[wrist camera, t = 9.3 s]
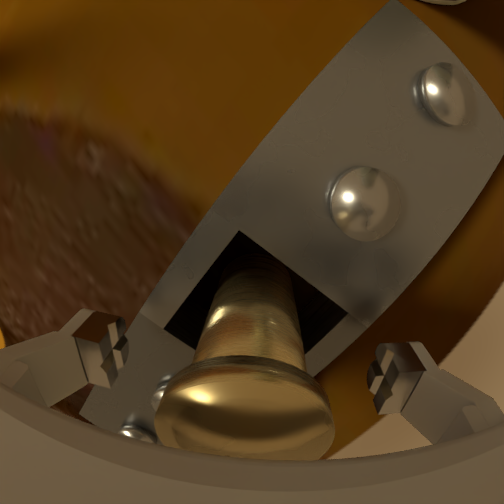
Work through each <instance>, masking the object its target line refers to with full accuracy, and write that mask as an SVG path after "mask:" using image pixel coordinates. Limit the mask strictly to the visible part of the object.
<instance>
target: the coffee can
mask: <svg viewBox="0 0 504 504" xmlns="http://www.w3.org/2000/svg"><path fill="white" fill-rule="evenodd" d="M421 1H425V2H429V3H433V4H440V5H456V4H459V3H462V2H464V1H466V0H421Z"/></svg>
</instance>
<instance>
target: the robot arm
mask: <svg viewBox="0 0 504 504" xmlns="http://www.w3.org/2000/svg"><path fill="white" fill-rule="evenodd" d="M125 330H126V324H125V320H124V319H123V318H122V317H120V316H115V315H111V314H107V313H102V312H98V311H94V310H89V309H81V310H80V311H79V312H78V313H77V314H76V315H75V316H74V317H73V318H72V319H71V320H70V321H69V322H68V323H67V324H66V325H65V326H64V327H63V328H62V329H61V330H60V331H59V332H55V331H54V332H51V333H48V334H45V335H42V336H39V337H36V338H33V339H30V340H27V341H24V342H21V343H18V344H15V345H12V346H9V347H6V348H3V349H0V504H504V414H503V413H502V411H501V410H500V408H499V407H498V405H497V404H496V402H495V401H494V399H493V398H492V397H490V396H488V395H486V394H485V393H483V392H481V391H479V390H478V389H476V388H474V387H473V386H471V385H469V384H467V383H466V382H464V381H462V380H461V379H459V378H457V377H455V376H454V375H452V374H450V373H449V372H447V371H445V370H440V369H439V368H438V366H437V365H436V363H435V362H434V360H433V359H432V357H431V356H430V354H429V353H428V351H427V350H426V348H425V347H424V345H423V344H422V343H421V342H419V341H417V342H406V343H380V344H379V345H378V346H377V349H376V351H375V355H376V358H377V359H375V360H374V361H373V362H372V363H371V364H370V367H369V369H368V373H367V385H368V388H369V391H371V392H372V393H373V394H375V397H374V399H373V402H374V405H375V407H376V410H377V413H378V414H392V413H401V415H402V416H403V417H404V418H405V419H406V420H407V421H408V422H410V423H411V424H412V425H413V426H414V427H415V428H416V429H417V430H418V431H419V432H420V433H421V434H422V435H424V436H425V437H426V438H427V439H428V440H429V441H430V442H431V443H432V444H433V445H429V446H425V447H420V448H415V449H411V450H405V451H400V452H394V453H388V454H382V455H374V456H366V457H357V458H345V459H333V460H332V459H331V460H264V459H249V458H238V457H228V456H220V455H213V454H206V453H199V452H193V451H188V450H182V449H177V448H172V447H168V446H163V445H159V444H154V443H150V442H146V441H142V440H139V439H135V438H131V437H128V436H124V435H121V434H118V433H115V432H111V431H108V430H105V429H102V428H99V427H97V426H94V425H91V424H88V423H85V422H83V421H80V420H78V419H75V418H73V417H70V416H68V415H65V414H63V413H61V412H58V411H56V410H54V409H51V408H49V407H50V406H52V405H54V404H55V403H57V402H59V401H60V400H62V399H64V398H65V397H67V396H69V395H70V394H72V393H73V392H75V391H77V390H78V389H80V388H82V387H83V386H85V385H87V384H88V382H89V383H92V384H96V385H99V386H103V387H107V388H111V387H112V385H113V384H114V382H115V380H116V379H117V377H118V371H117V369H119V368H121V367H123V366H124V365H125V363H126V361H127V358H128V354H129V343H128V339H127V338H126V337H125V335H124V334H123V333H124V331H125Z"/></svg>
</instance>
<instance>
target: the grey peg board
mask: <svg viewBox="0 0 504 504" xmlns="http://www.w3.org/2000/svg"><path fill="white" fill-rule="evenodd" d="M503 155H504V119H503V118H502V116H501V115H500V113H499V112H498V110H497V109H496V107H495V106H494V104H493V103H492V101H491V100H490V98H489V97H488V96H487V94H486V93H485V92H484V90H483V89H482V87H481V86H480V85H479V84H478V82H477V81H476V80H475V78H474V77H473V76H472V75H471V73H470V72H469V71H468V70H467V68H466V67H465V66H464V65H463V64H462V63H461V61H460V60H459V59H458V58H457V57H456V56H455V55H454V53H453V52H452V51H451V50H450V49H449V48H448V47H447V46H446V45H445V44H444V43H443V42H442V41H441V40H440V39H439V37H438V36H437V35H436V34H435V33H434V32H432V31H431V30H430V29H429V28H428V27H427V26H426V25H425V24H424V23H423V22H422V21H421V20H420V19H419V18H418V17H416V16H415V15H414V14H413V13H412V12H411V11H410V10H408V9H407V8H406V7H405V6H404V5H403V4H401V3H400V2H399V1H398V0H390V1H389V2H388V3H387V4H386V5H385V6H384V7H383V8H381V9H380V10H379V11H378V12H377V13H376V14H375V15H374V16H373V17H372V18H371V19H370V20H369V21H368V22H367V23H366V24H365V25H364V26H363V27H362V29H361V30H360V31H359V32H358V33H357V34H356V35H355V36H354V37H353V38H352V39H351V40H350V41H349V42H348V43H347V44H346V45H345V46H344V47H343V48H342V49H341V51H340V52H339V53H338V54H337V55H336V56H335V57H334V58H333V59H332V60H331V61H330V62H329V64H328V65H327V66H326V67H325V68H324V69H323V70H322V71H321V72H320V74H319V75H318V76H317V77H316V78H315V79H314V80H313V81H312V83H311V84H310V85H309V86H308V87H307V88H306V89H305V91H304V92H303V93H302V94H301V95H300V96H299V97H298V99H297V100H296V101H295V102H294V103H293V104H292V106H291V107H290V108H289V109H288V110H287V112H286V113H285V114H284V115H283V116H282V118H281V119H280V120H279V121H278V122H277V124H276V125H275V126H274V127H273V128H272V130H271V131H270V132H269V133H268V135H267V136H266V137H265V138H264V139H263V141H262V142H261V143H260V144H259V146H258V147H257V148H256V149H255V151H254V152H253V153H252V155H251V156H250V157H249V158H248V160H247V161H246V162H245V163H244V165H243V166H242V167H241V169H240V170H239V171H238V172H237V174H236V175H235V176H234V178H233V179H232V180H231V182H230V183H229V184H228V185H227V187H226V188H225V189H224V191H223V192H222V193H221V195H220V196H219V197H218V199H217V200H216V201H215V203H214V204H213V206H212V207H211V208H210V210H209V211H208V212H207V214H206V215H205V216H204V218H203V219H202V221H201V222H200V223H199V225H198V226H197V227H196V229H195V230H194V232H193V233H192V234H191V236H190V237H189V239H188V240H187V242H186V243H185V244H184V246H183V247H182V249H181V250H180V252H179V253H178V254H177V256H176V257H175V259H174V260H173V262H172V263H171V265H170V266H169V268H168V269H167V270H166V272H165V273H164V275H163V276H162V278H161V279H160V281H159V282H158V284H157V285H156V287H155V288H154V290H153V291H152V293H151V294H150V296H149V298H148V299H147V301H146V302H145V304H144V305H143V307H142V308H141V310H140V311H139V313H138V315H137V316H136V318H135V319H134V321H133V322H132V324H131V326H130V327H129V329H128V330H127V332H126V334H125V337H126V338H127V339H128V343H129V354H128V358H127V361H126V363H125V365H124V366H123V367H121V368H119V369H117V371H118V377H117V379H116V380H115V382H114V384H113V385H112V387H111V388H107V387H103V386H99V385H96V384H95V386H94V388H93V389H92V391H91V393H90V395H89V396H88V398H87V400H86V402H85V404H84V405H83V407H82V409H81V411H80V413H79V414H80V415H81V416H83V417H84V418H86V419H87V420H88V421H90V422H91V423H93V424H95V425H96V426H98V427H99V428H102V429H105V430H108V431H111V432H115V433H118V434H121V435H124V436H128V437H131V438H135V439H139V440H142V441H146V442H150V443H154V444H159V445H163V446H164V444H163V443H162V442H161V440H160V439H159V437H158V435H157V433H156V430H155V426H154V418H155V414H156V411H157V408H158V406H159V403H160V401H161V398H162V395H163V393H164V390H165V388H166V386H167V384H168V382H169V381H170V379H171V378H172V377H173V376H174V375H175V374H176V373H177V372H178V371H180V370H182V369H183V368H185V367H186V366H188V365H191V364H192V360H193V357H194V354H195V351H196V348H197V345H198V342H199V339H200V336H201V334H202V331H203V328H204V325H205V322H206V319H207V316H208V313H209V311H207V310H206V309H204V308H203V307H202V306H200V305H199V304H197V303H196V302H194V301H193V300H192V299H190V298H189V297H188V295H189V294H190V293H191V291H192V290H193V289H194V287H195V286H196V285H197V283H198V282H199V281H200V280H201V278H202V277H203V276H204V274H205V273H206V272H207V270H208V269H209V268H210V267H211V265H212V264H213V263H214V261H215V260H216V259H217V258H218V256H219V255H220V254H221V252H222V251H223V250H224V249H225V247H226V246H227V245H228V243H229V242H230V241H231V240H232V238H233V237H234V236H235V235H236V233H237V232H238V231H239V230H240V231H241V232H243V233H244V234H245V235H247V236H248V237H249V238H251V239H252V240H253V241H255V242H256V243H257V244H259V245H260V246H261V247H262V248H264V249H265V250H266V251H268V252H269V253H270V254H272V255H273V256H274V257H276V258H277V259H278V260H280V261H281V262H282V263H284V264H285V265H286V266H288V267H289V268H290V269H292V270H293V271H294V272H296V273H297V274H298V275H299V276H301V277H302V278H303V279H305V280H306V281H307V282H309V283H310V284H311V285H313V286H314V287H315V288H317V289H318V290H319V291H320V292H319V293H318V294H317V296H316V297H315V298H314V299H313V300H312V301H311V302H310V303H309V304H308V305H307V306H306V307H305V308H304V309H303V310H302V311H301V312H300V313H299V314H298V320H299V325H300V331H301V337H302V343H303V349H304V355H305V361H306V367H307V373H308V374H310V375H311V376H312V377H314V376H315V375H316V374H318V373H319V372H320V371H321V370H322V369H323V368H325V367H326V366H327V365H328V364H329V363H330V362H332V361H333V360H334V359H335V358H336V357H337V356H338V355H339V354H341V353H342V352H343V351H344V350H345V349H346V348H347V347H348V346H349V345H350V344H352V343H353V342H354V341H355V340H356V339H357V338H358V337H359V336H360V335H361V334H362V333H363V332H364V331H365V330H366V329H367V328H368V327H369V326H370V325H371V324H372V323H373V322H374V321H375V320H376V319H377V318H378V317H379V316H380V315H381V314H382V313H383V312H384V311H385V310H386V309H387V308H388V307H389V306H390V305H391V304H392V303H393V302H394V301H395V300H396V299H397V298H398V297H399V295H400V294H401V293H402V292H403V291H404V290H405V289H406V288H407V287H408V286H409V284H410V283H411V282H412V281H413V280H414V279H415V278H416V277H417V275H418V274H419V273H420V272H421V271H422V270H423V268H424V267H425V266H426V265H427V264H428V262H429V261H430V260H431V259H432V258H433V256H434V255H435V254H436V253H437V251H438V250H439V249H440V248H441V246H442V245H443V244H444V243H445V241H446V240H447V239H448V237H449V236H450V235H451V233H452V232H453V231H454V229H455V228H456V227H457V225H458V224H459V223H460V221H461V220H462V219H463V217H464V216H465V214H466V213H467V212H468V210H469V209H470V207H471V206H472V204H473V203H474V201H475V200H476V198H477V197H478V195H479V194H480V192H481V191H482V189H483V188H484V186H485V185H486V183H487V182H488V180H489V178H490V177H491V175H492V173H493V172H494V170H495V168H496V167H497V165H498V163H499V162H500V160H501V158H502V156H503Z"/></svg>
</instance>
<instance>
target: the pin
mask: <svg viewBox="0 0 504 504" xmlns="http://www.w3.org/2000/svg"><path fill="white" fill-rule="evenodd" d="M154 426H155V430H156V433H157V435H158V437H159V439H160V440H161V442H162V443H163V444H164V446H168V447H172V448H177V449H182V450H188V451H193V452H199V453H206V454H213V455H220V456H228V457H238V458H249V459H264V460H318V459H319V458H321V457H322V456H323V455H324V454H325V453H326V452H327V450H328V449H329V448H330V446H331V444H332V442H333V439H334V435H335V428H334V423H333V418H332V413H331V408H330V403H329V399H328V396H327V394H326V392H325V390H324V388H323V387H322V386H321V384H320V383H319V382H318V381H317V380H316V379H315V378H314V377H312V376H311V375H310V374H308V373H307V367H306V361H305V355H304V349H303V343H302V337H301V331H300V325H299V320H298V314H297V308H296V303H295V297H294V292H293V286H292V281H291V277H290V274H289V272H288V271H287V269H286V267H285V266H284V265H283V264H282V263H281V262H280V261H278V260H277V259H275V258H273V257H271V256H268V255H265V254H260V253H251V254H245V255H242V256H240V257H237V258H236V259H234V260H233V261H231V262H230V263H229V264H228V265H227V266H226V268H225V269H224V271H223V273H222V275H221V278H220V281H219V284H218V287H217V290H216V292H215V295H214V298H213V301H212V304H211V307H210V310H209V313H208V316H207V319H206V322H205V325H204V328H203V331H202V334H201V336H200V339H199V342H198V345H197V348H196V351H195V354H194V357H193V360H192V364H191V365H188V366H186V367H185V368H183V369H182V370H180V371H178V372H177V373H176V374H175V375H174V376H173V377H172V378H171V379H170V381H169V382H168V384H167V386H166V388H165V390H164V393H163V395H162V398H161V401H160V403H159V406H158V408H157V411H156V414H155V418H154Z"/></svg>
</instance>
